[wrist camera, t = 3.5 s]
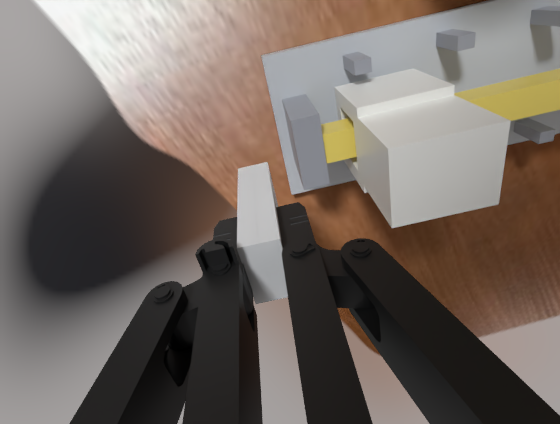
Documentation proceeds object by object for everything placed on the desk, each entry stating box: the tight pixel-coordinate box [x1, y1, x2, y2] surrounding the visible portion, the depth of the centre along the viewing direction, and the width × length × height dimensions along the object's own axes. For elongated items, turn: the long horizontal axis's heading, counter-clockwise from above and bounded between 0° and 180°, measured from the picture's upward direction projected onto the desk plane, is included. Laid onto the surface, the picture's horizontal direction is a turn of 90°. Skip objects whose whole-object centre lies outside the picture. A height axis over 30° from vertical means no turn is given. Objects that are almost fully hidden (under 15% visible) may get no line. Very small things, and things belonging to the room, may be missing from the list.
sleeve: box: [334, 68, 511, 228], centre depth 19 cm, size 5×5×9 cm
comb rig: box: [261, 0, 560, 195], centre depth 22 cm, size 29×10×7 cm, turn 102°
